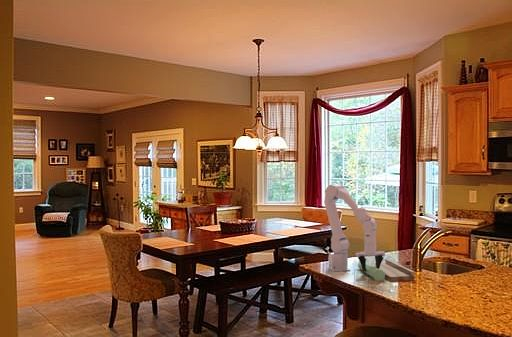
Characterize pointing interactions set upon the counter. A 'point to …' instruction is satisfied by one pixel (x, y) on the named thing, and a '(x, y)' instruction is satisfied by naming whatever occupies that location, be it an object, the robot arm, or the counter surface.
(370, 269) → the container
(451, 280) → the counter surface
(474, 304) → the counter surface
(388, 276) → the shelf
